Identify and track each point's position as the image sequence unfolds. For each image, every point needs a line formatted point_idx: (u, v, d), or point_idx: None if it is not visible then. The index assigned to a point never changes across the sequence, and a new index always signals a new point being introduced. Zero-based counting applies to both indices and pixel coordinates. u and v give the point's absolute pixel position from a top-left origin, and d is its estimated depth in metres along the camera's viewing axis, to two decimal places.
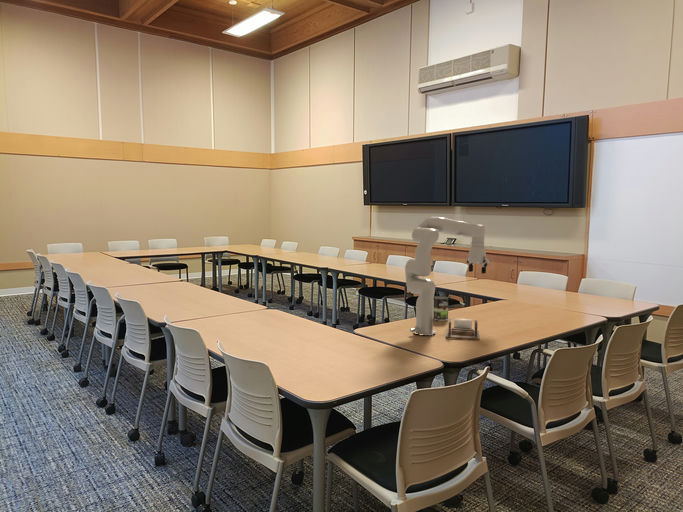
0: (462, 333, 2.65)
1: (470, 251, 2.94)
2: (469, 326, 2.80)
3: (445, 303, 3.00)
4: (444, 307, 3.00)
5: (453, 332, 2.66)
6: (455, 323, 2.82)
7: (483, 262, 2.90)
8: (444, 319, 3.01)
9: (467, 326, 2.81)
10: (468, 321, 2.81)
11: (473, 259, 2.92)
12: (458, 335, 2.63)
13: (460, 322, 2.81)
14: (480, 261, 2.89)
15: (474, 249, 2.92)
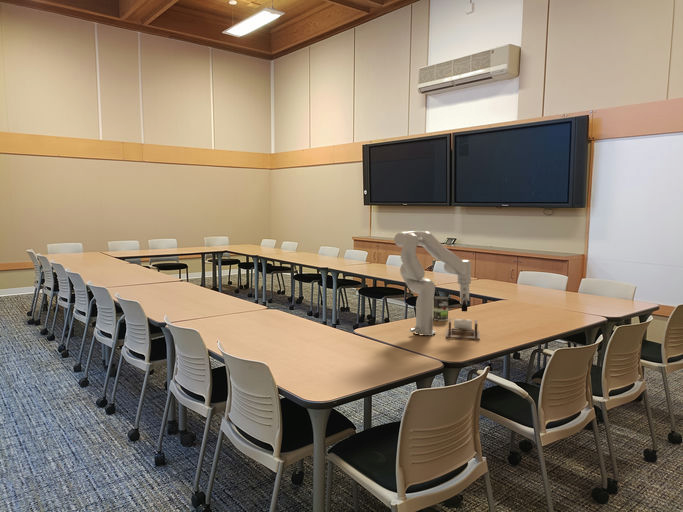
0: (462, 333, 2.65)
1: (468, 289, 2.77)
2: (469, 328, 2.80)
3: (445, 303, 3.00)
4: (444, 307, 3.00)
5: (453, 332, 2.66)
6: (455, 325, 2.81)
7: None
8: (444, 319, 3.01)
9: (467, 328, 2.80)
10: (468, 323, 2.79)
11: None
12: (458, 335, 2.63)
13: (460, 325, 2.80)
14: None
15: None
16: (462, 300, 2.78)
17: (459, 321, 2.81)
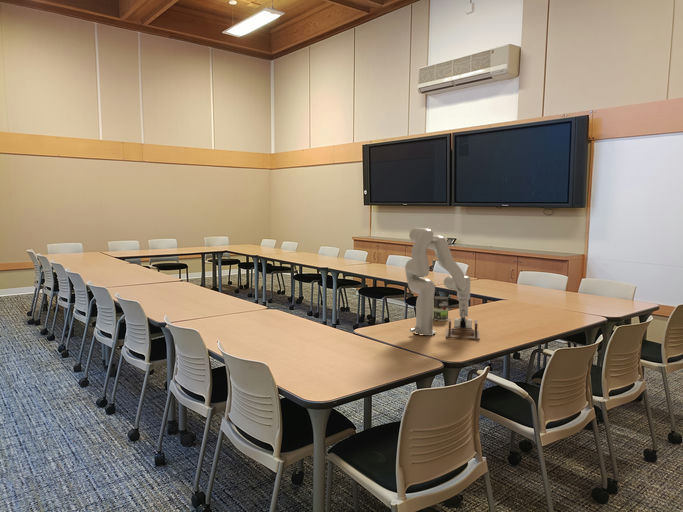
0: (462, 333, 2.65)
1: None
2: (469, 326, 2.80)
3: (445, 303, 3.00)
4: (444, 307, 3.00)
5: (453, 332, 2.66)
6: (455, 323, 2.82)
7: None
8: (444, 319, 3.01)
9: (467, 326, 2.81)
10: (468, 321, 2.81)
11: None
12: (458, 335, 2.63)
13: None
14: None
15: None
16: (461, 317, 2.80)
17: (459, 319, 2.83)
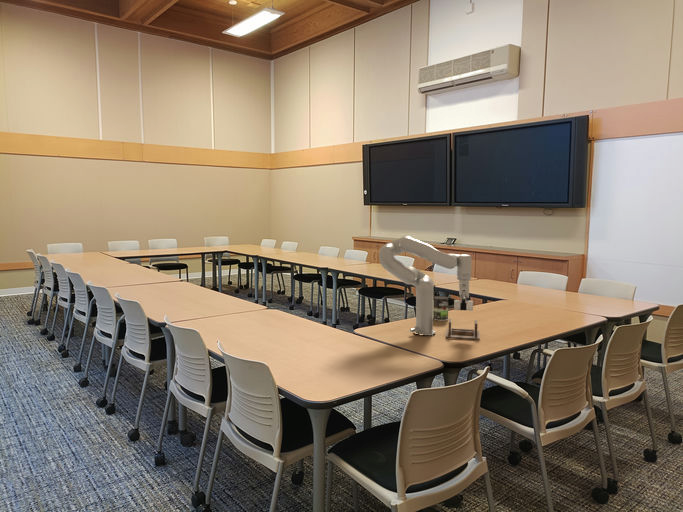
0: (462, 333, 2.65)
1: (468, 285, 2.61)
2: (470, 308, 2.63)
3: (445, 303, 3.00)
4: (444, 307, 3.00)
5: (453, 332, 2.66)
6: (455, 305, 2.64)
7: None
8: (444, 319, 3.01)
9: (468, 308, 2.63)
10: (469, 302, 2.63)
11: None
12: (458, 335, 2.63)
13: None
14: None
15: None
16: (461, 298, 2.62)
17: (459, 301, 2.65)
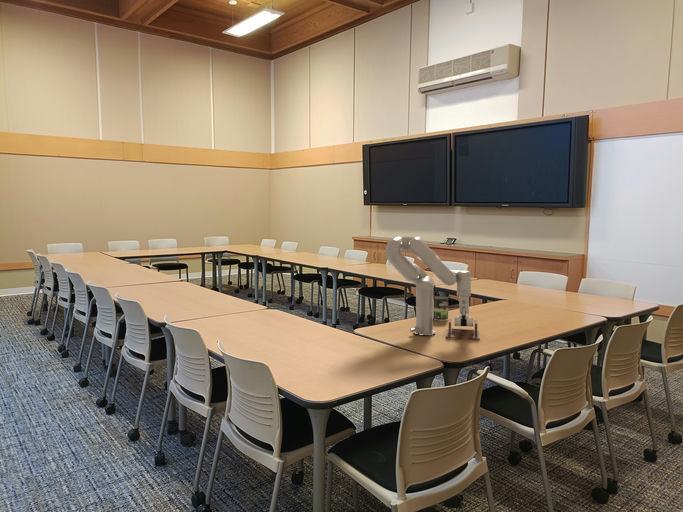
0: (462, 333, 2.65)
1: (468, 301, 2.61)
2: (470, 324, 2.63)
3: (445, 303, 3.00)
4: (444, 307, 3.00)
5: (453, 332, 2.66)
6: (455, 321, 2.65)
7: None
8: (444, 319, 3.01)
9: (468, 324, 2.63)
10: (469, 318, 2.63)
11: None
12: (458, 335, 2.63)
13: (460, 320, 2.64)
14: None
15: None
16: (461, 314, 2.63)
17: (460, 317, 2.66)
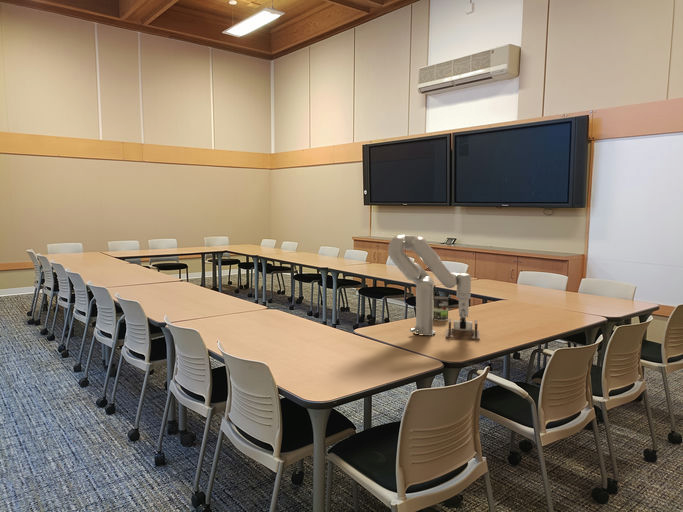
0: (462, 333, 2.65)
1: (468, 304, 2.61)
2: (469, 329, 2.64)
3: (445, 303, 3.00)
4: (444, 307, 3.00)
5: (453, 332, 2.66)
6: (455, 325, 2.65)
7: None
8: (444, 319, 3.01)
9: (467, 329, 2.64)
10: (469, 323, 2.64)
11: None
12: (458, 335, 2.63)
13: (459, 325, 2.65)
14: None
15: (468, 300, 2.64)
16: (461, 317, 2.62)
17: (459, 321, 2.66)
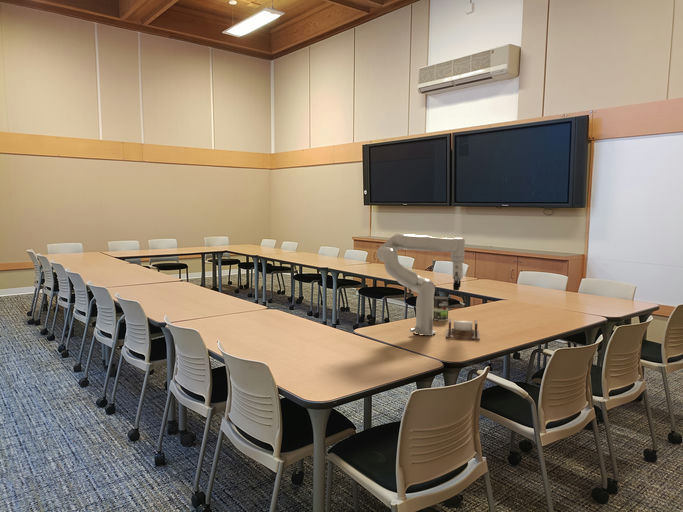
0: (462, 333, 2.65)
1: (461, 267, 2.70)
2: (469, 329, 2.64)
3: (445, 303, 3.00)
4: (444, 307, 3.00)
5: (453, 332, 2.66)
6: (455, 326, 2.65)
7: None
8: (444, 319, 3.01)
9: (467, 329, 2.64)
10: (469, 323, 2.64)
11: None
12: (458, 335, 2.63)
13: (459, 325, 2.65)
14: None
15: (462, 264, 2.73)
16: (454, 278, 2.71)
17: (459, 321, 2.66)
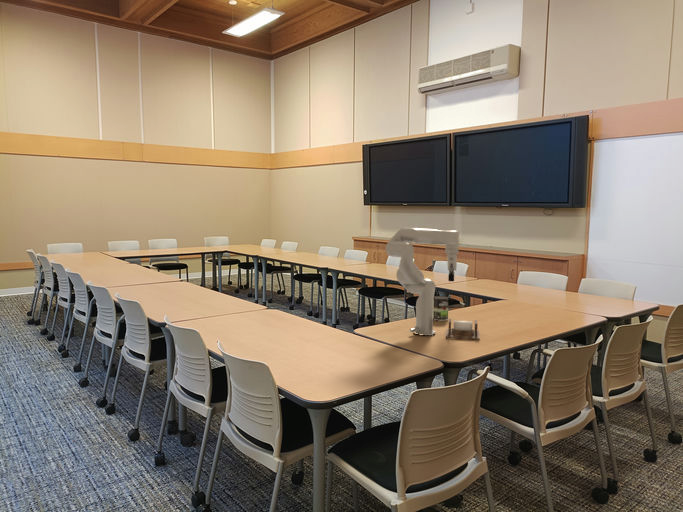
0: (462, 333, 2.65)
1: (456, 259, 2.79)
2: (469, 329, 2.64)
3: (445, 303, 3.00)
4: (444, 307, 3.00)
5: (453, 332, 2.66)
6: (455, 326, 2.65)
7: None
8: (444, 319, 3.01)
9: (467, 329, 2.64)
10: (469, 323, 2.64)
11: (456, 266, 2.82)
12: (458, 335, 2.63)
13: (459, 325, 2.65)
14: None
15: (456, 256, 2.82)
16: (449, 270, 2.79)
17: (459, 321, 2.66)
